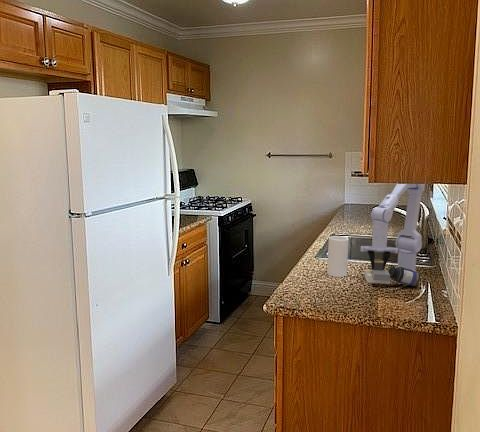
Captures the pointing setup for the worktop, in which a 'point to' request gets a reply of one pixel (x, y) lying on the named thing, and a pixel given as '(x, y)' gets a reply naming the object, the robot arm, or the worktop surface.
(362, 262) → the worktop surface
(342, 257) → the cup
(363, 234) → the worktop surface
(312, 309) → the worktop surface
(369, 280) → the socket
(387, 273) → the grey square block
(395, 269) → the pill bottle
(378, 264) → the plug
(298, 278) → the worktop surface
